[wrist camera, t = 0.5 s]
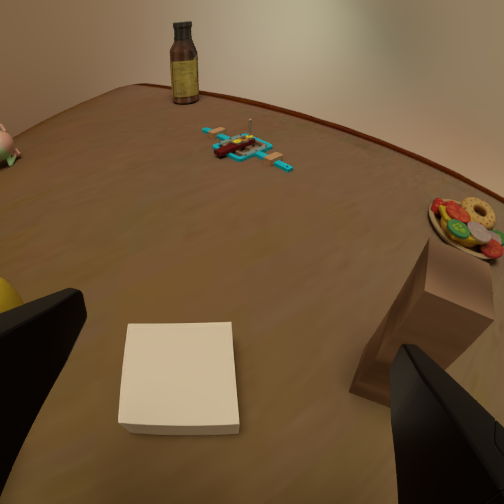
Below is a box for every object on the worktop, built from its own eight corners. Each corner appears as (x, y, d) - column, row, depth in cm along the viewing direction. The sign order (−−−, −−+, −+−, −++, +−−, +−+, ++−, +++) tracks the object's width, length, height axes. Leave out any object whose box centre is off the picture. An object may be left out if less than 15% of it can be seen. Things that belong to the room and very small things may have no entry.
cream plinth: (238, 433, 20) (239, 423, 18) (130, 433, 20) (118, 422, 17) (231, 341, 26) (231, 321, 24) (137, 342, 25) (128, 323, 23)
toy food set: (481, 214, 43) (489, 198, 41) (511, 272, 34) (522, 255, 31) (416, 198, 44) (423, 181, 42) (440, 260, 35) (451, 240, 32)
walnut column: (396, 409, 22) (494, 320, 12) (348, 391, 23) (424, 290, 14) (408, 365, 25) (489, 263, 15) (364, 348, 26) (429, 237, 17)
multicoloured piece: (264, 187, 44) (305, 166, 48) (268, 153, 40) (310, 135, 45) (180, 142, 53) (220, 127, 58) (178, 114, 49) (220, 101, 54)
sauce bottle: (204, 101, 68) (204, 20, 54) (180, 107, 65) (178, 22, 51) (189, 95, 71) (188, 20, 57) (167, 101, 68) (164, 22, 54)
